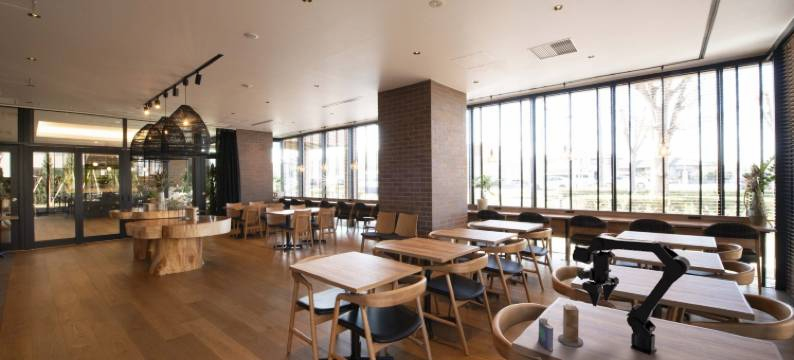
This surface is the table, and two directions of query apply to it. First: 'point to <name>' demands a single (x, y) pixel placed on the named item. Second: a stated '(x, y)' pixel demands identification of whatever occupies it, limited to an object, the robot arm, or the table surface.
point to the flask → (545, 334)
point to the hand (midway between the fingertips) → (600, 303)
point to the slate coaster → (562, 340)
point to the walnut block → (570, 323)
